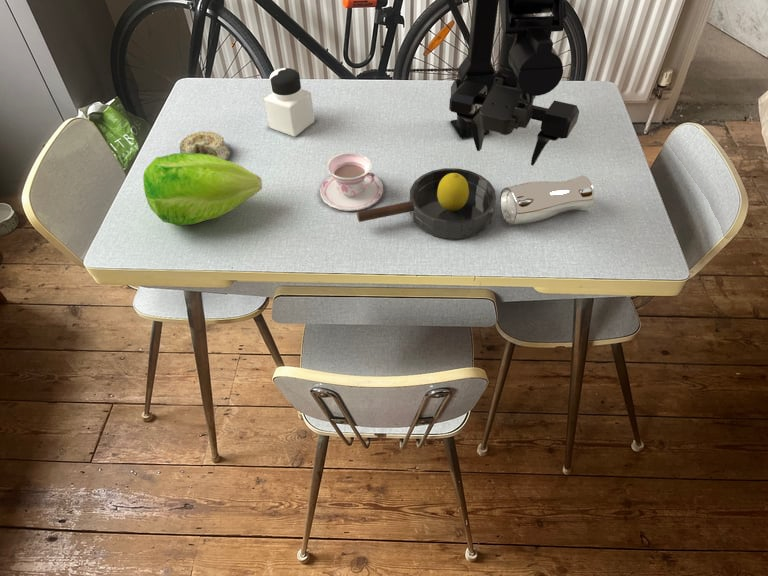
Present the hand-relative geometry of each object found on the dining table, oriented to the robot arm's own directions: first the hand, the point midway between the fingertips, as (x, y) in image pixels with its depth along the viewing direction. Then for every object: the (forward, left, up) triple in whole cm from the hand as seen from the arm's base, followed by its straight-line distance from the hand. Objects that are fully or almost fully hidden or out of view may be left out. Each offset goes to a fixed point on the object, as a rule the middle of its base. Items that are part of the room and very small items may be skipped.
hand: (505, 156), depth 93 cm
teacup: (-15, -23, -14) cm, 31 cm away
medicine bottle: (-41, -30, -14) cm, 53 cm away
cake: (-35, -49, -14) cm, 62 cm away
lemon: (-4, -7, -13) cm, 15 cm away
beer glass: (+1, +16, -10) cm, 20 cm away
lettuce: (-17, -49, -14) cm, 53 cm away
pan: (-4, -7, -13) cm, 16 cm away
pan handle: (-4, -19, -11) cm, 23 cm away
